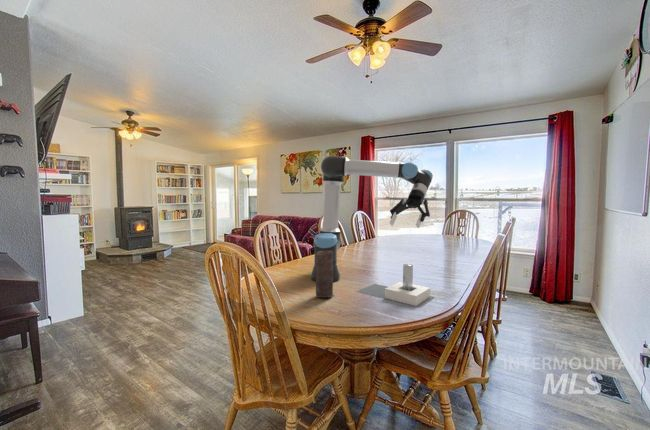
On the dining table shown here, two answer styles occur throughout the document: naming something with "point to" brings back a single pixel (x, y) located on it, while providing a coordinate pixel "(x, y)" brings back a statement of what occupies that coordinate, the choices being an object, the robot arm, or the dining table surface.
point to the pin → (407, 277)
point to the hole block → (407, 294)
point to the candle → (324, 274)
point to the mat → (380, 292)
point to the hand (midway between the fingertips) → (403, 225)
